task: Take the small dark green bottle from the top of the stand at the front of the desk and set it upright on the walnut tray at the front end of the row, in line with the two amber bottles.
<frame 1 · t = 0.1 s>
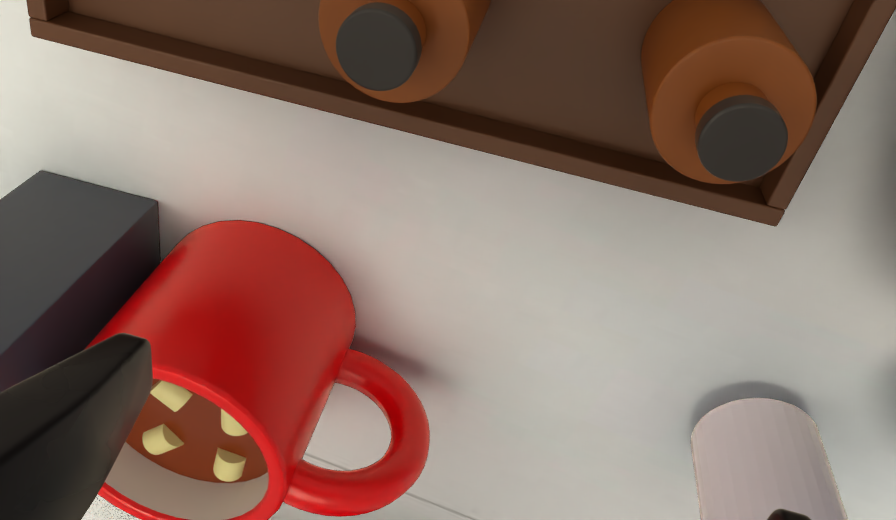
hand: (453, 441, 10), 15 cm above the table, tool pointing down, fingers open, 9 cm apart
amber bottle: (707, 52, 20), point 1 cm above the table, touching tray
perfume bottle: (749, 423, 28), on the table
stand: (103, 235, 29), on the table
mug: (310, 320, 30), on the table
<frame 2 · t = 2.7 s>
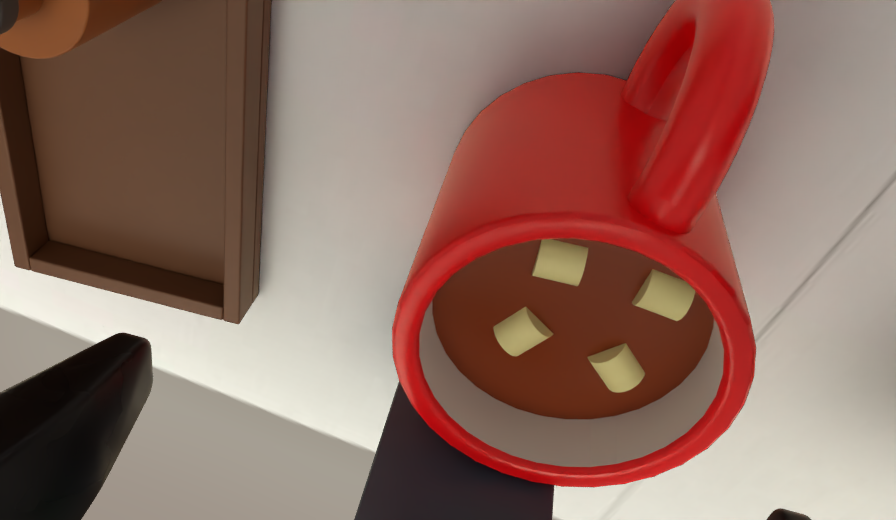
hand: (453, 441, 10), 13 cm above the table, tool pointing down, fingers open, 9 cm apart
stand: (485, 339, 26), on the table
mug: (604, 137, 21), on the table
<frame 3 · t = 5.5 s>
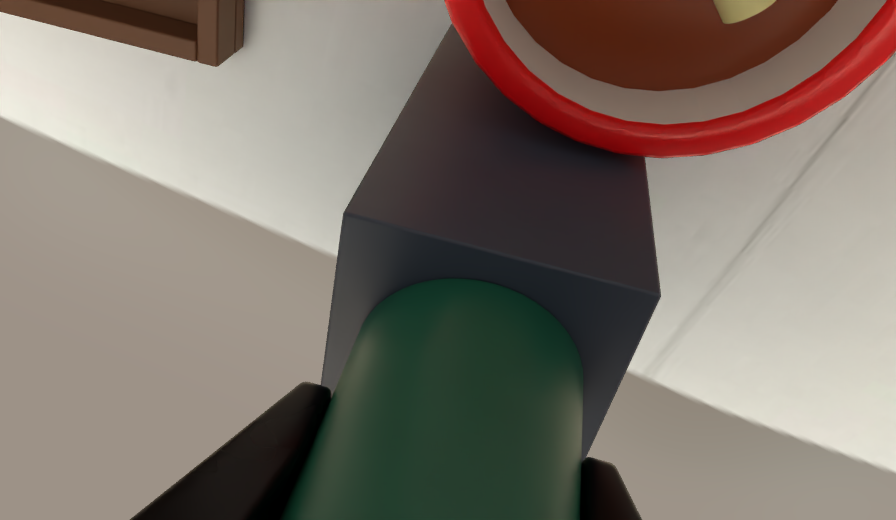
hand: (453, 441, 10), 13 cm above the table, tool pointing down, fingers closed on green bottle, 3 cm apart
stand: (526, 99, 21), on the table
green bottle: (467, 370, 12), point 12 cm above the table, touching gripper, stand
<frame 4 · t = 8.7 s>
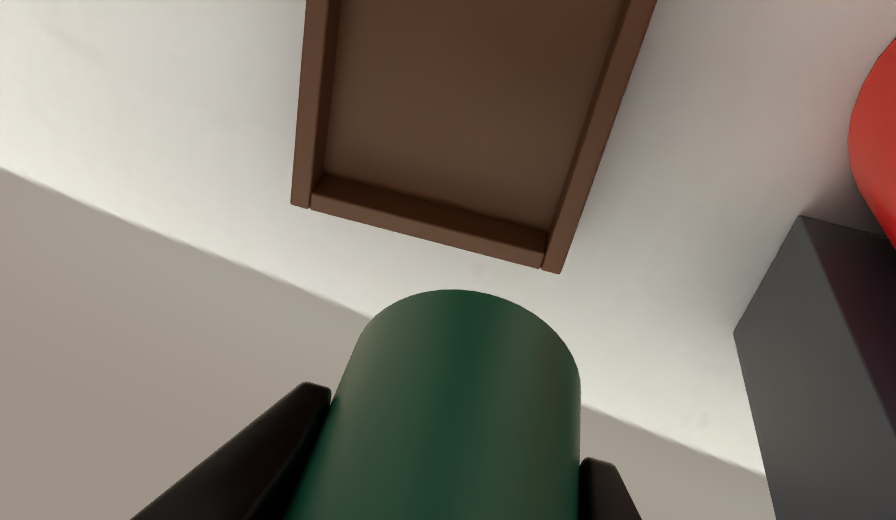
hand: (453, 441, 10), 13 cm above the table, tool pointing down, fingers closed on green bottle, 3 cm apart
stand: (838, 296, 22), on the table
green bottle: (464, 382, 12), point 11 cm above the table, touching gripper
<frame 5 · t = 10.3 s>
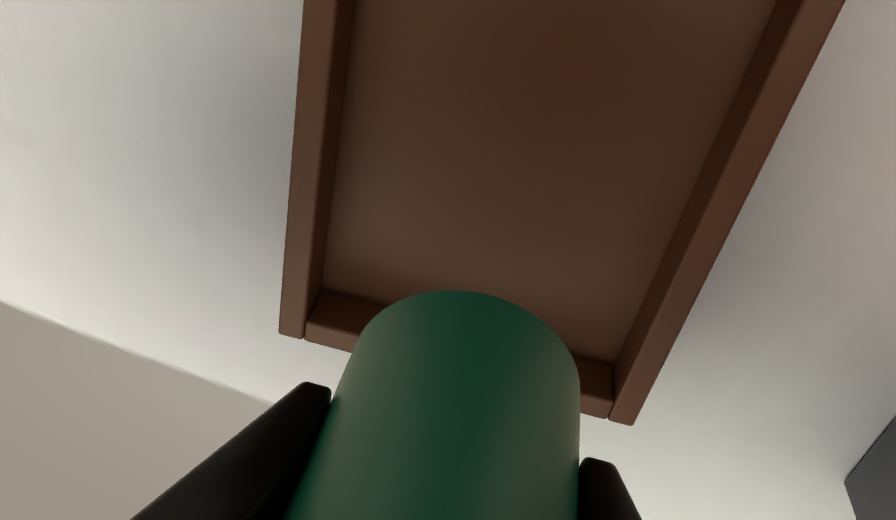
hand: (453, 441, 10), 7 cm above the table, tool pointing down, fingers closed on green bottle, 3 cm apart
green bottle: (464, 382, 12), point 5 cm above the table, touching gripper
when the fingers open (2 cm above the table, at t = 11.9 s): green bottle stays where it is, resting on tray.
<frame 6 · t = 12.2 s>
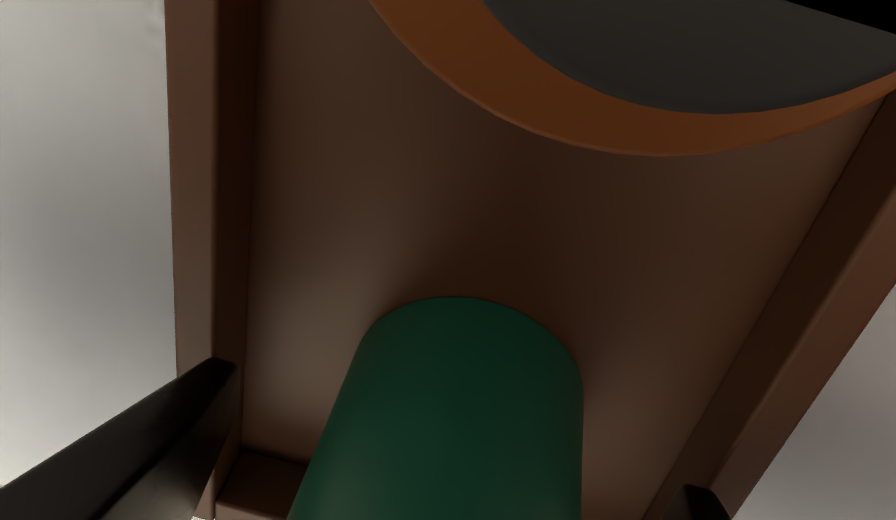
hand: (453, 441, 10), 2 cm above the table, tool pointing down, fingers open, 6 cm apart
green bottle: (466, 388, 11), point 1 cm above the table, touching tray
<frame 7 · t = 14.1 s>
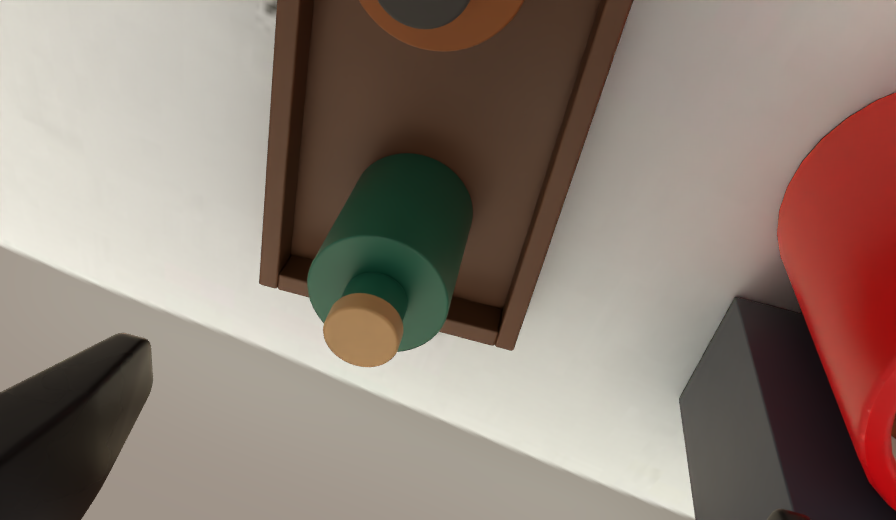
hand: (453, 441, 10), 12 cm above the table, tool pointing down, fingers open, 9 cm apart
stand: (774, 368, 24), on the table
green bottle: (413, 207, 22), point 1 cm above the table, touching tray
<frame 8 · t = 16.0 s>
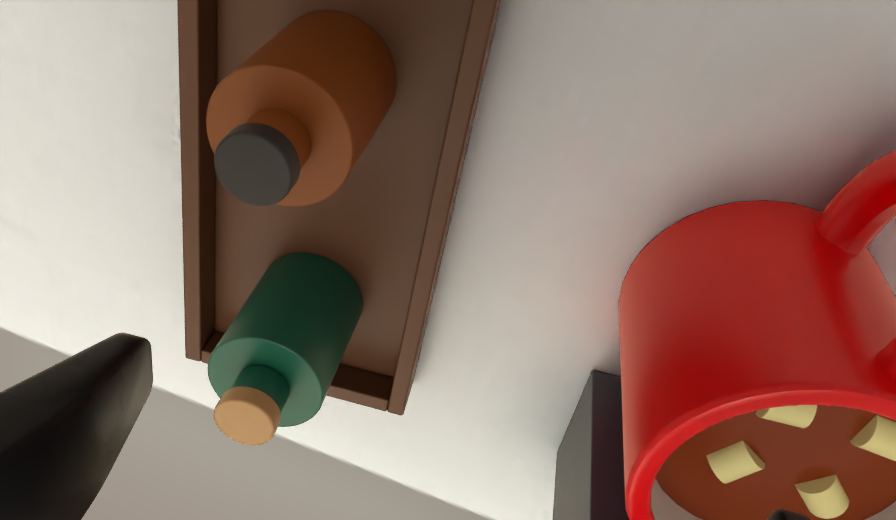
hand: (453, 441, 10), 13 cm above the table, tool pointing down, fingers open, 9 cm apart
tray: (341, 67, 21), on the table
amber bottle middle: (335, 74, 21), point 1 cm above the table, touching tray
stand: (633, 429, 27), on the table
mug: (780, 256, 23), on the table
green bottle: (312, 295, 26), point 1 cm above the table, touching tray
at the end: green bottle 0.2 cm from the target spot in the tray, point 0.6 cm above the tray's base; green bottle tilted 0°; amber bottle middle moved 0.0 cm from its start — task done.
